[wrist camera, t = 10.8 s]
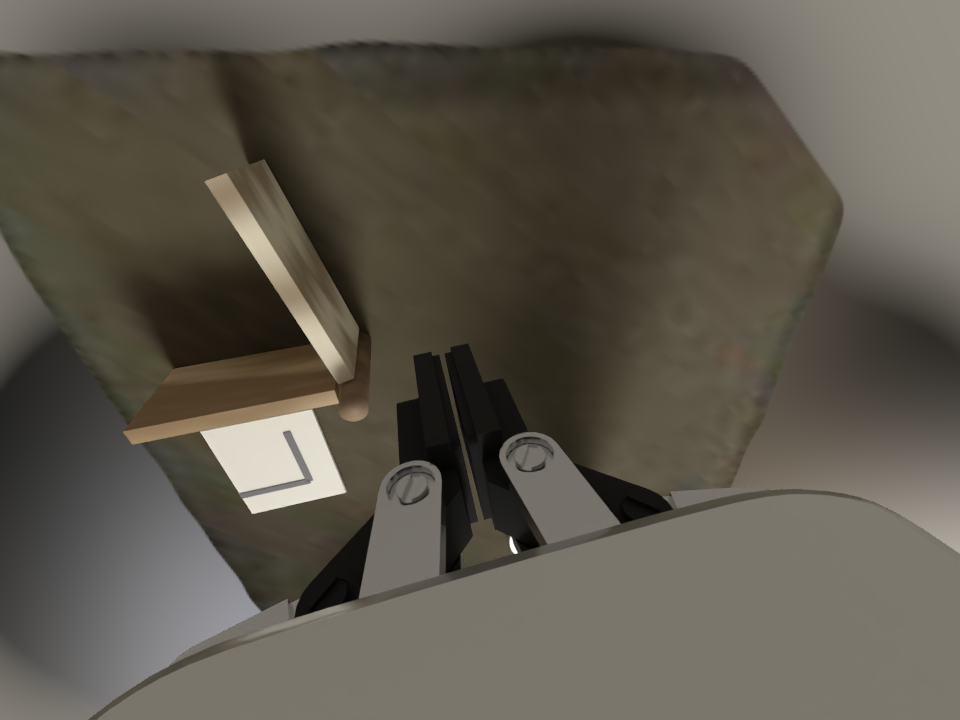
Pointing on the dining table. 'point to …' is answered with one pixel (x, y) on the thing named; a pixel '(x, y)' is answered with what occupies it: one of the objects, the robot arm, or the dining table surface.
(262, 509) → the card
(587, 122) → the dining table surface
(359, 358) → the wooden hinged panel
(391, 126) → the dining table surface
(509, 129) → the dining table surface
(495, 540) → the dining table surface
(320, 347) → the pale wooden plank
